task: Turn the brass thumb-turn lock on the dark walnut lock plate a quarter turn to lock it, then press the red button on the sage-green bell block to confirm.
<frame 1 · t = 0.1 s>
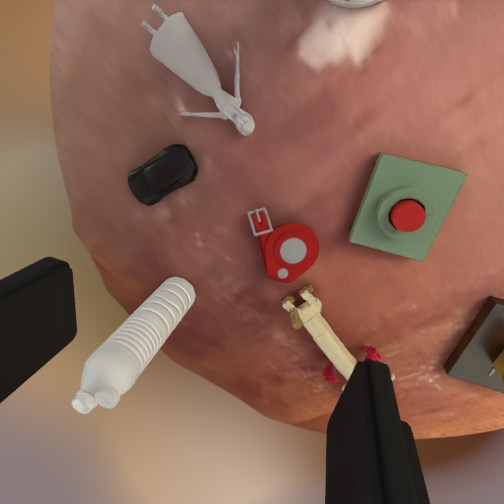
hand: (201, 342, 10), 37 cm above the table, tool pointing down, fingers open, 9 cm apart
bell block: (400, 206, 41), on the table
lock plate: (499, 343, 46), on the table
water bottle: (184, 289, 56), on the table
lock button: (407, 216, 37), point 4 cm above the table, slide at 0.1 cm
blocky toy figure: (340, 343, 53), on the table
toy car: (167, 173, 48), on the table
woman figurine: (209, 78, 41), on the table
tracker holder: (284, 237, 47), on the table
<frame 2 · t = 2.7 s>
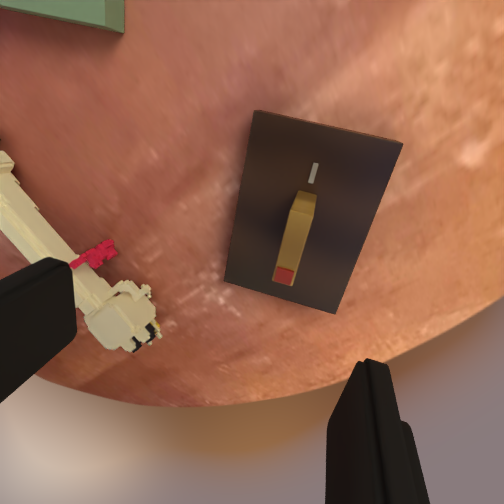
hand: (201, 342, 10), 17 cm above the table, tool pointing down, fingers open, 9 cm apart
lock plate: (301, 215, 25), on the table
blocky toy figure: (81, 243, 32), on the table
lock knob: (295, 236, 21), point 5 cm above the table, hinge at 0.0°
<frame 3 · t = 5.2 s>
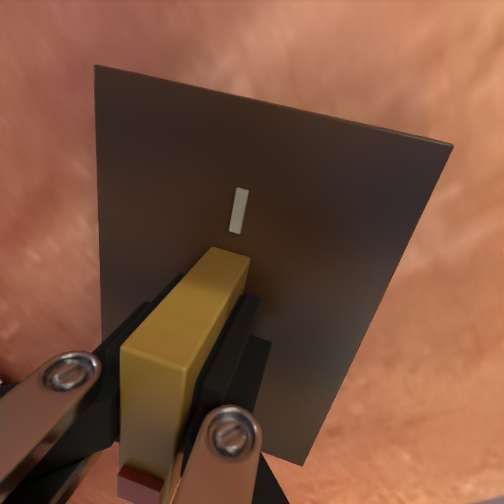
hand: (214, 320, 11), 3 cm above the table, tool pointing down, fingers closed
lock plate: (236, 283, 13), on the table
lock knob: (190, 362, 9), point 5 cm above the table, hinge at 0.0°, touching gripper
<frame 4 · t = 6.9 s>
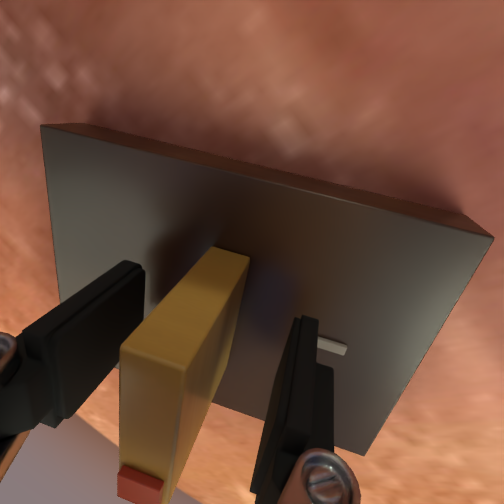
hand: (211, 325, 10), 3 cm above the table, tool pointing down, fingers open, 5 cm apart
lock plate: (235, 283, 13), on the table
lock knob: (190, 362, 9), point 5 cm above the table, hinge at 89.5°
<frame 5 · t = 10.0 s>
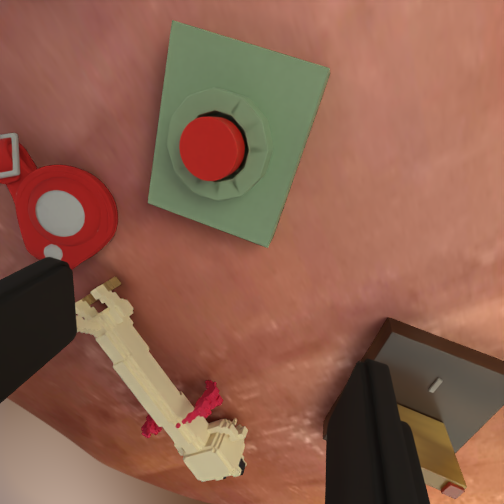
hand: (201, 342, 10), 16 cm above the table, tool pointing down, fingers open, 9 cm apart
bell block: (234, 143, 23), on the table
lock plate: (405, 396, 28), on the table
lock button: (212, 148, 19), point 4 cm above the table, slide at 0.1 cm
blocky toy figure: (178, 372, 34), on the table
lock knob: (417, 445, 24), point 5 cm above the table, hinge at 89.5°
tracker holder: (69, 194, 28), on the table
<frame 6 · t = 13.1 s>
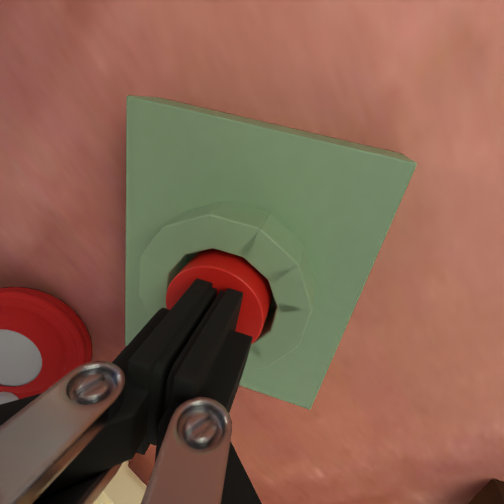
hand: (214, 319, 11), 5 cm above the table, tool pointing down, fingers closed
bell block: (246, 256, 15), on the table
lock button: (220, 299, 11), point 4 cm above the table, slide at -0.6 cm, touching gripper
tracker holder: (25, 313, 21), on the table
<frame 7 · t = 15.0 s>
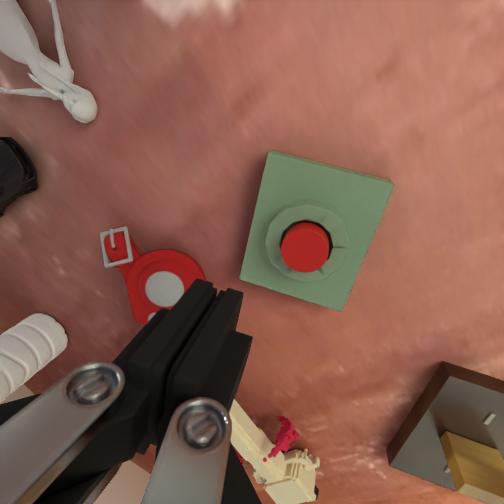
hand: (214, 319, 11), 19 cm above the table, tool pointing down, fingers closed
bell block: (309, 229, 28), on the table
lock plate: (460, 426, 32), on the table
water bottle: (54, 329, 42), on the table
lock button: (305, 247, 24), point 4 cm above the table, slide at 0.1 cm
blocky toy figure: (252, 409, 39), on the table
toy car: (7, 178, 35), on the table
woman figurine: (32, 40, 28), on the table
lock knob: (479, 471, 28), point 5 cm above the table, hinge at 89.5°
tracker holder: (163, 268, 34), on the table
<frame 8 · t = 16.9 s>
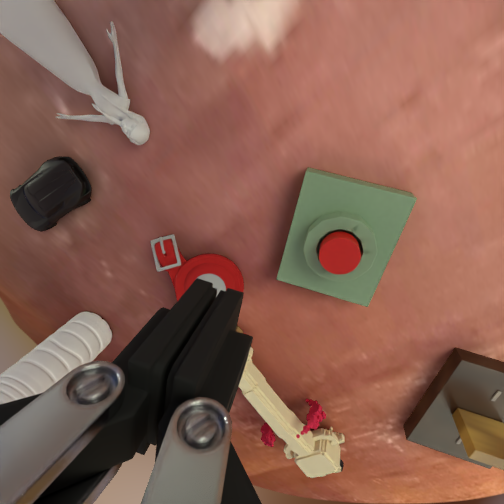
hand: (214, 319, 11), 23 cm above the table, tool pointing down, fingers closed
bell block: (338, 235, 32), on the table
lock plate: (470, 403, 37), on the table
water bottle: (99, 325, 47), on the table
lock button: (339, 252, 28), point 4 cm above the table, slide at 0.1 cm
blocky toy figure: (282, 393, 43), on the table
toy car: (61, 192, 39), on the table
woman figurine: (91, 71, 32), on the table
lock knob: (487, 440, 32), point 5 cm above the table, hinge at 89.5°
tracker holder: (203, 269, 38), on the table
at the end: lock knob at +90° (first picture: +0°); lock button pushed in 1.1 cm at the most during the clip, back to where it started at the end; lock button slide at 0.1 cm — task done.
